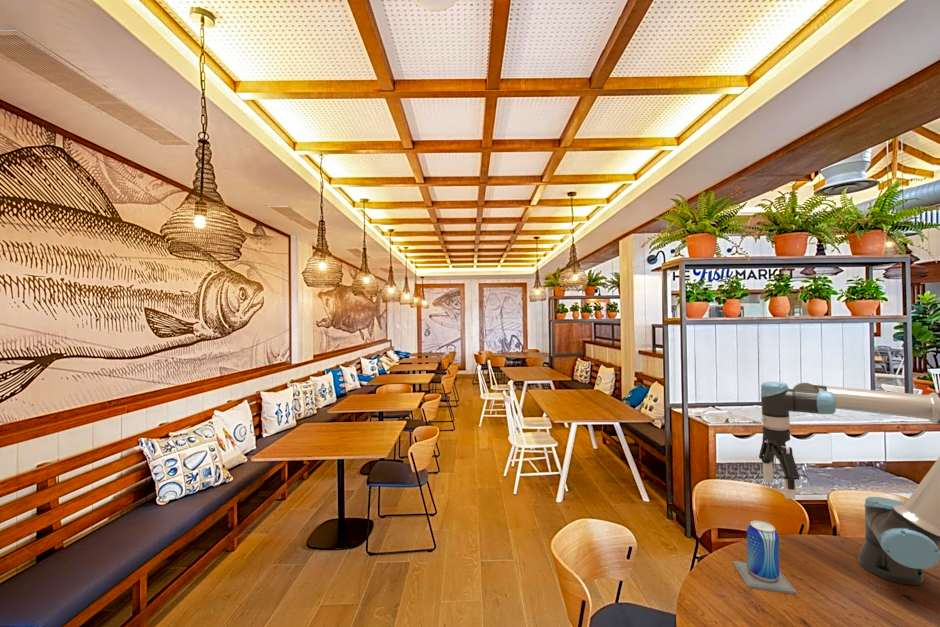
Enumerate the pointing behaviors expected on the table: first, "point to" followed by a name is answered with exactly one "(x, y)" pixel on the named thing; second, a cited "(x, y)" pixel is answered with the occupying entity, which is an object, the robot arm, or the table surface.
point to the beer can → (763, 551)
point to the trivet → (755, 583)
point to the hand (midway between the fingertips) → (778, 489)
